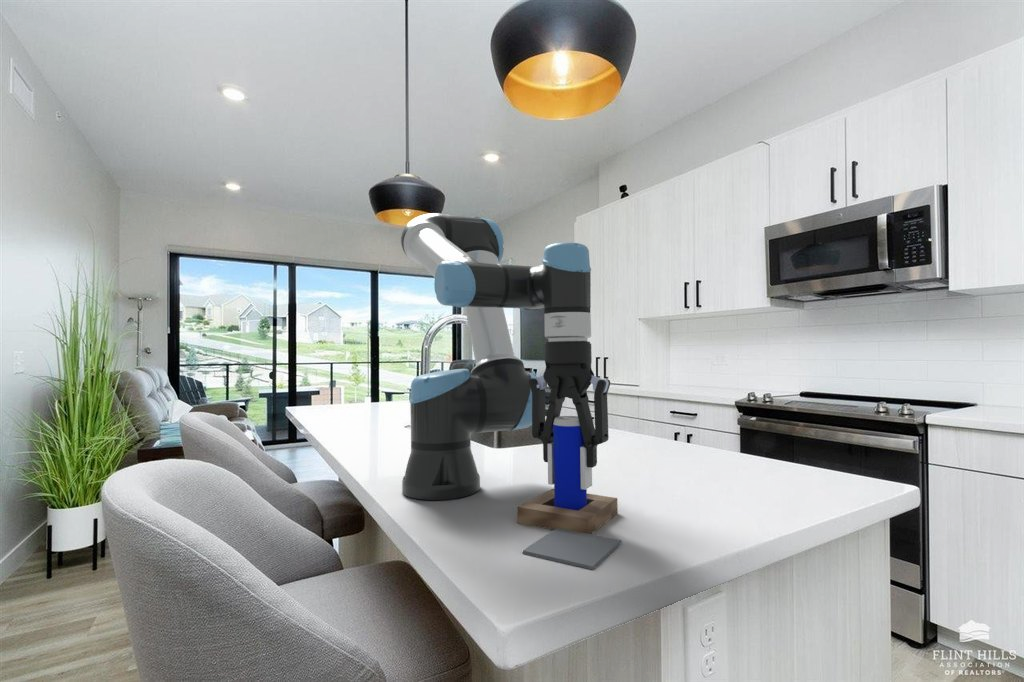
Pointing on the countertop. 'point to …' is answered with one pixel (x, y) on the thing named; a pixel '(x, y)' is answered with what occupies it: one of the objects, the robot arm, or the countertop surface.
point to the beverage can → (568, 463)
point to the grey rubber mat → (573, 548)
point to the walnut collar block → (567, 513)
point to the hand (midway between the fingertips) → (569, 484)
